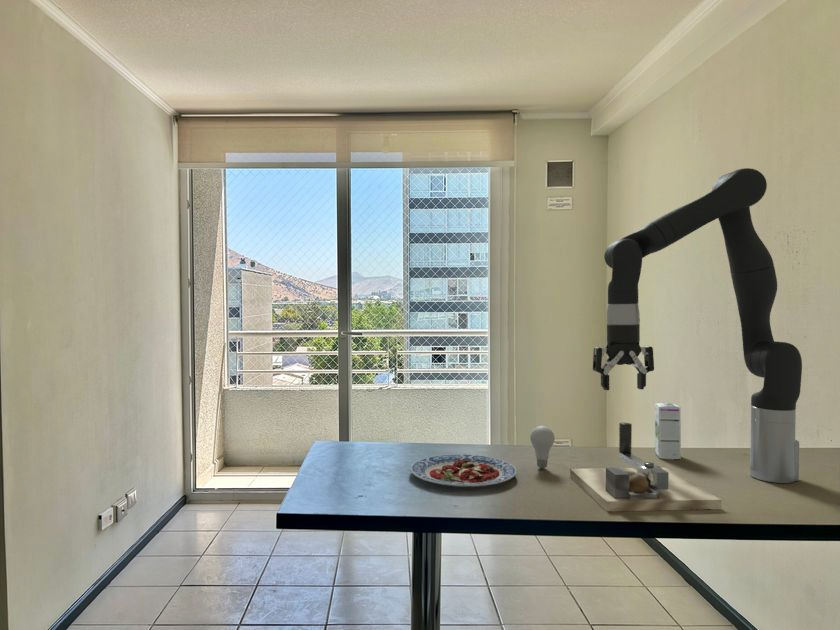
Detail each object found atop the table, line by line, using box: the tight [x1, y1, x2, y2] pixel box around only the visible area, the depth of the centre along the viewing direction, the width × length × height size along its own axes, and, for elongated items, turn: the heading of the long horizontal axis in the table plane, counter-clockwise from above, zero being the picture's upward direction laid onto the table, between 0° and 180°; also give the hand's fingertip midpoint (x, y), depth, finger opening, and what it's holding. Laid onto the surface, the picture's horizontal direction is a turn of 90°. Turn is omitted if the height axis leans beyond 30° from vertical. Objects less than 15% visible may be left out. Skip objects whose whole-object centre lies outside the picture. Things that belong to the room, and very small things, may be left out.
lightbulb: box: [529, 425, 556, 470], centre depth 144 cm, size 6×6×11 cm
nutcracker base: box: [569, 467, 722, 512], centre depth 127 cm, size 24×23×7 cm
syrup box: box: [654, 402, 682, 460], centre depth 156 cm, size 6×6×14 cm
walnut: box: [629, 474, 648, 493], centre depth 119 cm, size 4×4×4 cm
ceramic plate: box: [410, 453, 517, 488], centre depth 138 cm, size 26×26×3 cm
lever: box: [618, 422, 669, 490], centre depth 128 cm, size 5×21×10 cm, turn 2°
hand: (623, 389), depth 137 cm, fingers open, 8 cm apart
